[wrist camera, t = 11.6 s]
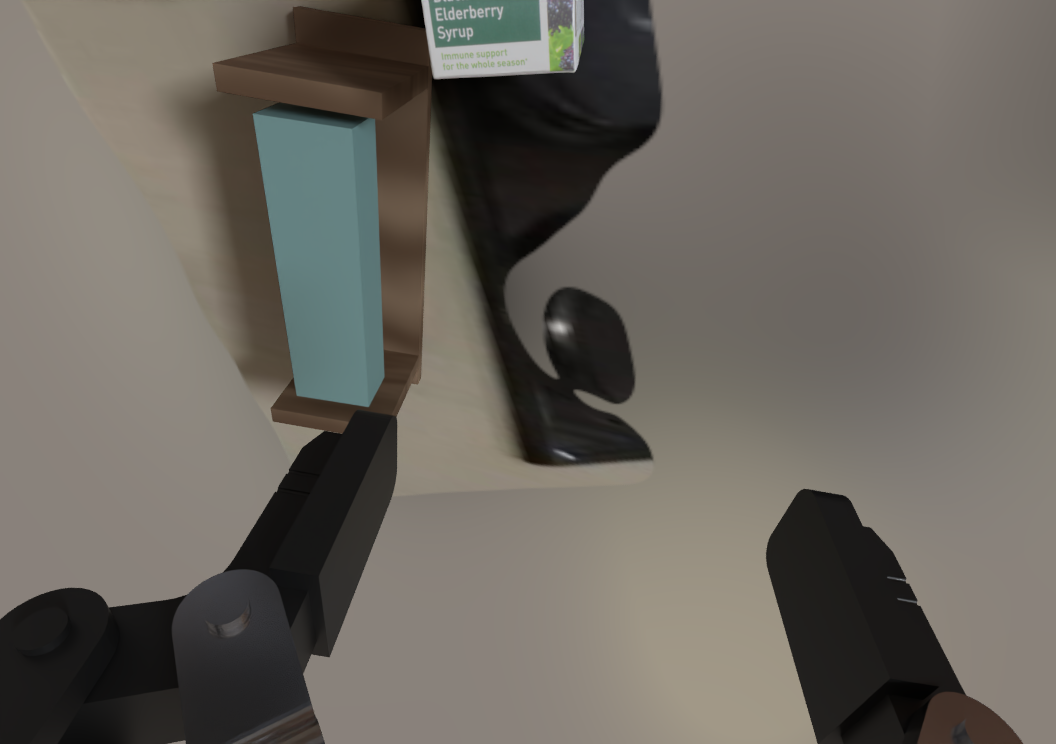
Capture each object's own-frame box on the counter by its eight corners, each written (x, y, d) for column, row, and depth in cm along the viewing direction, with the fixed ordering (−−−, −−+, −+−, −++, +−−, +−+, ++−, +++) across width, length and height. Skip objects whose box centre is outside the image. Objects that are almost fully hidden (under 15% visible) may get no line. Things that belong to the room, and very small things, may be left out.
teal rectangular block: (284, 100, 31) (252, 113, 28) (374, 114, 31) (352, 129, 28) (317, 366, 41) (296, 395, 38) (384, 377, 41) (368, 407, 38)
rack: (300, 6, 33) (204, 18, 25) (433, 30, 33) (381, 49, 25) (329, 361, 48) (276, 439, 40) (420, 377, 48) (385, 459, 40)
